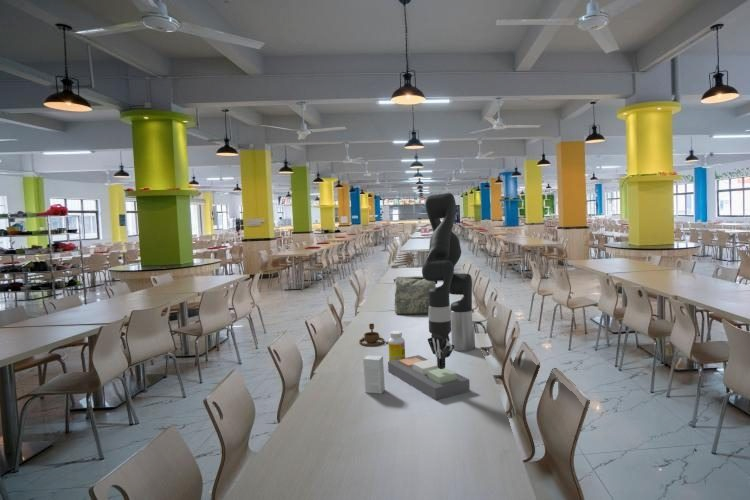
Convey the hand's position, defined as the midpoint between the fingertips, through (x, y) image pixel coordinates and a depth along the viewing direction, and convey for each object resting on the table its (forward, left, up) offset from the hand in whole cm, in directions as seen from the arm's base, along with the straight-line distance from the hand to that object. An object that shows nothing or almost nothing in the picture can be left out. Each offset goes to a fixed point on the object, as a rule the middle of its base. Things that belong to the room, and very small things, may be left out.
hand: (441, 368), depth 160 cm
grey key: (0, -10, -4) cm, 11 cm away
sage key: (0, 0, -4) cm, 4 cm away
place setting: (-9, -68, -9) cm, 69 cm away
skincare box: (+20, -12, -8) cm, 25 cm away
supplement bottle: (-1, -33, -8) cm, 34 cm away
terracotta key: (0, -20, -6) cm, 21 cm away
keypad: (0, -10, -8) cm, 13 cm away
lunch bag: (-57, -108, -8) cm, 122 cm away
